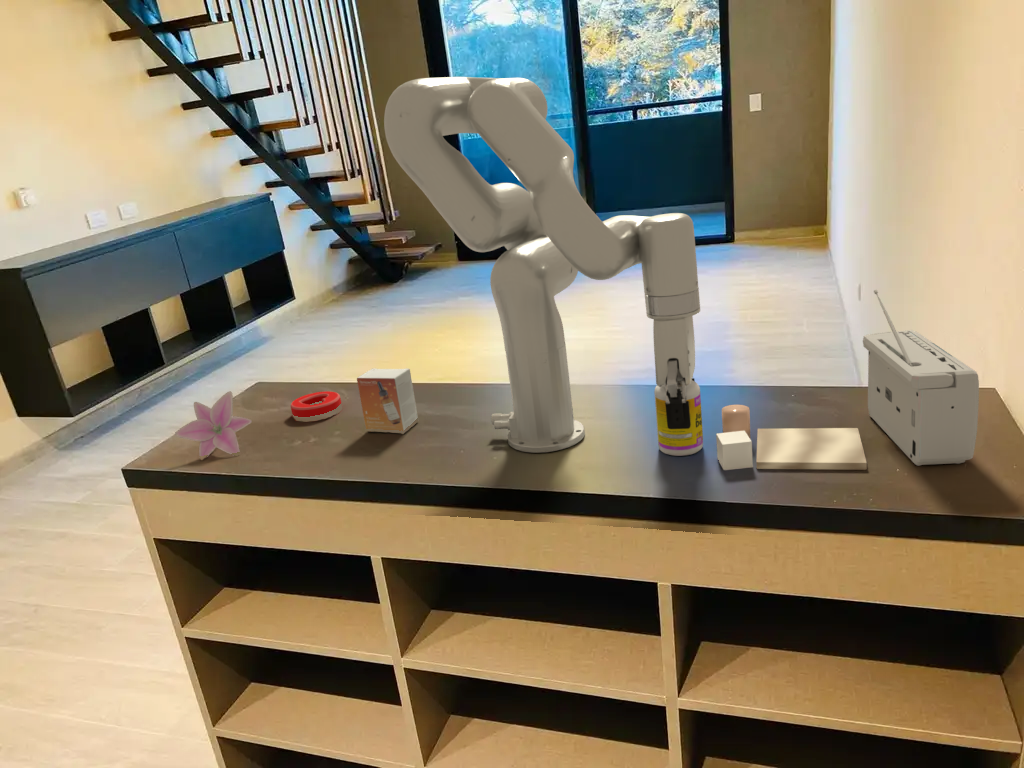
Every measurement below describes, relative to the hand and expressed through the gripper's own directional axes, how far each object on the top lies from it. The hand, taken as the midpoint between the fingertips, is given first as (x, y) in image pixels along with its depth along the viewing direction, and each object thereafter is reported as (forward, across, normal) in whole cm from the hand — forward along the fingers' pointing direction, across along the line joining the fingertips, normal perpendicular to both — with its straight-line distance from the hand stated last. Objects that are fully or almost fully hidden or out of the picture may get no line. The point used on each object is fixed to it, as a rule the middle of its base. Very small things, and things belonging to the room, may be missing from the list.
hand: (682, 415), depth 120 cm
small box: (+4, -9, -53) cm, 54 cm away
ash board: (+6, +1, +17) cm, 18 cm away
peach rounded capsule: (+6, -3, +7) cm, 10 cm away
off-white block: (+6, +5, +7) cm, 10 cm away
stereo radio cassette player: (+6, -4, +32) cm, 32 cm away
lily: (+4, +1, -82) cm, 82 cm away
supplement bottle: (+6, 0, -1) cm, 6 cm away
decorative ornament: (+4, -17, -73) cm, 75 cm away
